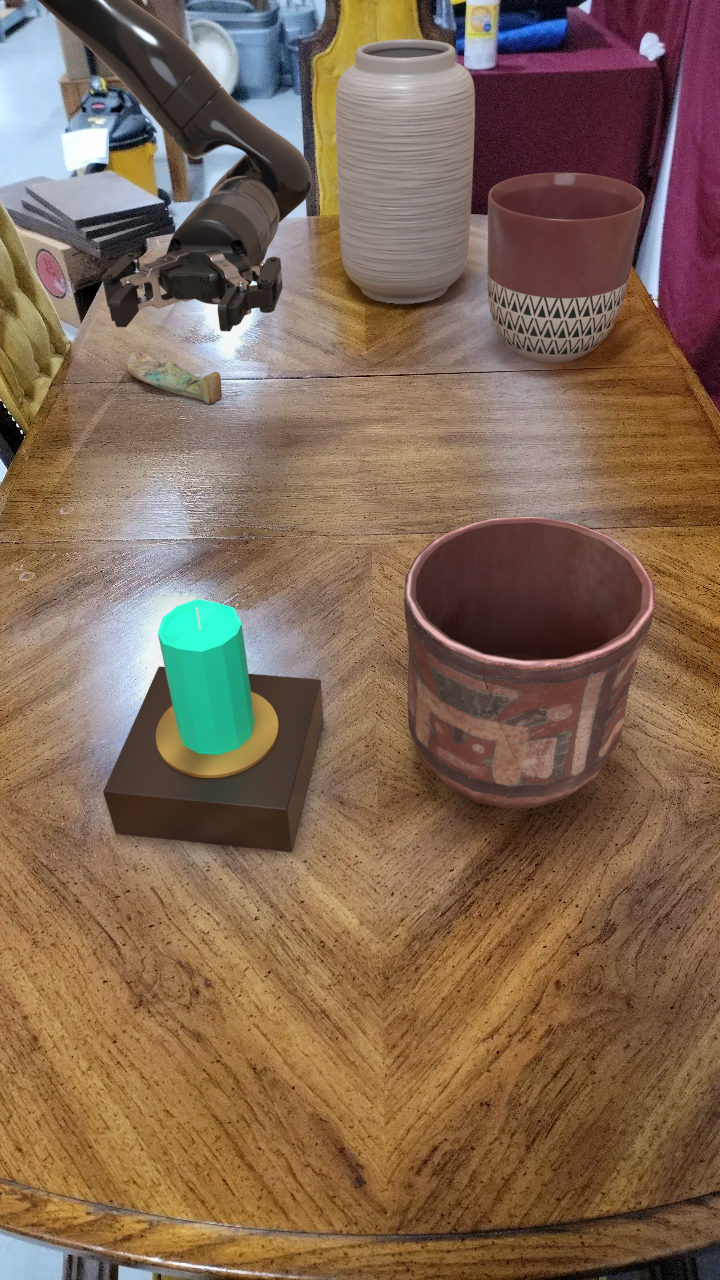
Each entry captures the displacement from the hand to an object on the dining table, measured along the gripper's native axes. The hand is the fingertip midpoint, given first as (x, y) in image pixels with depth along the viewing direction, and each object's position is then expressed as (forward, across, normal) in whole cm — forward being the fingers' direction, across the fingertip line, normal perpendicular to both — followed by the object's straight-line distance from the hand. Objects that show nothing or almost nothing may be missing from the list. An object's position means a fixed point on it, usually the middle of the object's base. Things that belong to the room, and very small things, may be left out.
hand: (170, 317), depth 77 cm
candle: (+20, +6, +25) cm, 32 cm away
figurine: (-47, -18, +30) cm, 59 cm away
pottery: (+15, +29, +30) cm, 45 cm away
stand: (+20, +6, +30) cm, 37 cm away
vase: (-85, +9, +30) cm, 91 cm away
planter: (-62, +32, +30) cm, 76 cm away
